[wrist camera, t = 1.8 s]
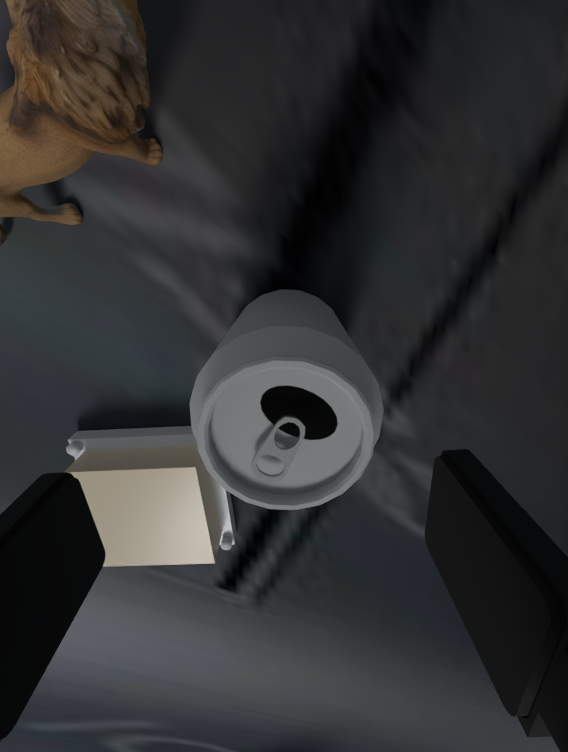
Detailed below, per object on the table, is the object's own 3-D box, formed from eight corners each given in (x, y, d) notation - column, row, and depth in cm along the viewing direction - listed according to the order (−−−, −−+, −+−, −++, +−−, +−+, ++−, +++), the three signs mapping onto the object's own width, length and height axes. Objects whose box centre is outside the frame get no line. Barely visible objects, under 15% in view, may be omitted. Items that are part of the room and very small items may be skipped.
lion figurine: (145, 6, 16) (-15, -253, 8) (216, 114, 17) (149, -2, 9) (-30, 207, 19) (-270, 181, 11) (43, 282, 21) (-120, 308, 13)
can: (365, 322, 22) (444, 408, 10) (307, 410, 24) (321, 554, 13) (264, 264, 20) (233, 292, 9) (214, 363, 23) (143, 478, 12)
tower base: (219, 424, 25) (208, 453, 21) (236, 532, 29) (229, 572, 25) (77, 430, 25) (44, 460, 22) (114, 536, 29) (91, 575, 26)
